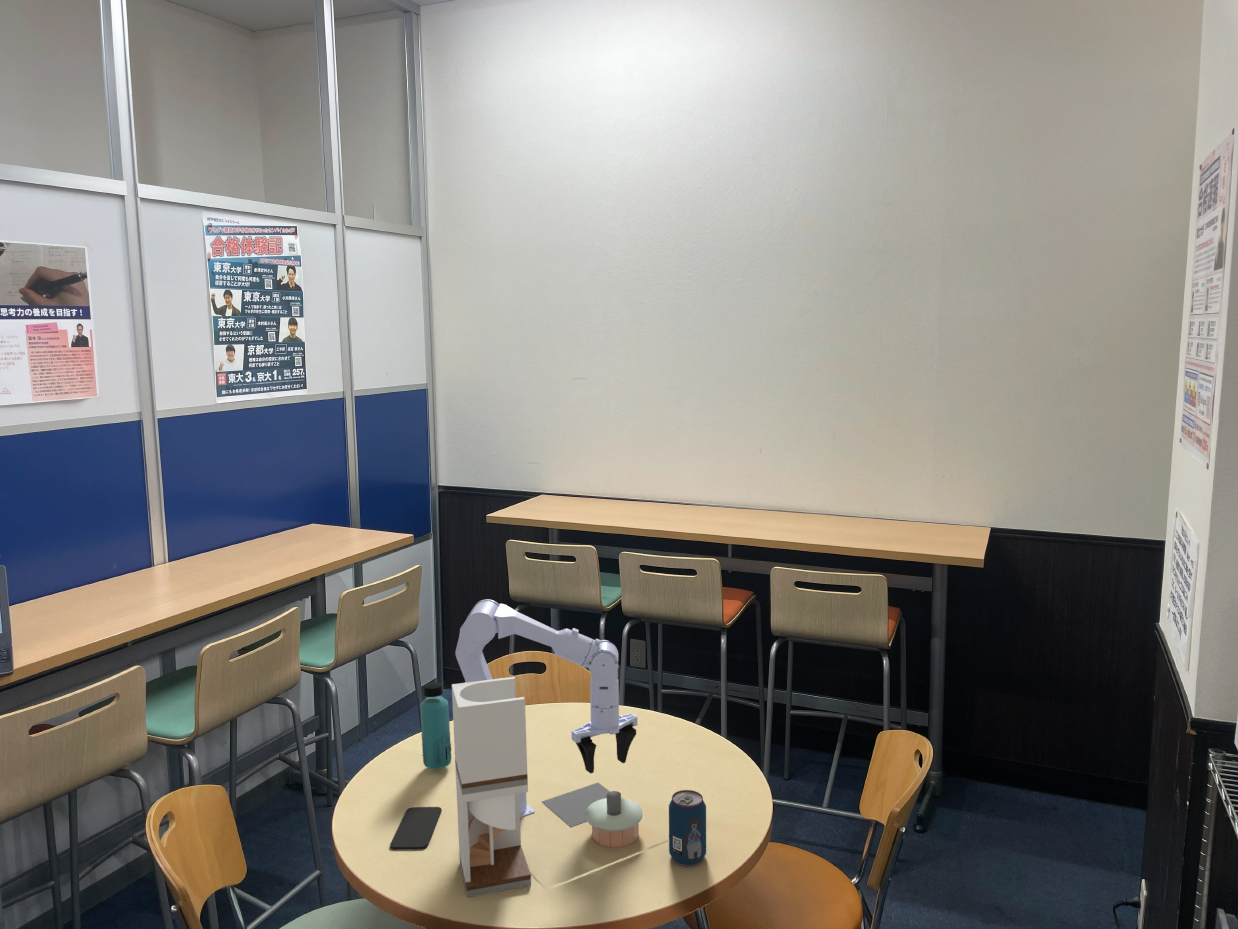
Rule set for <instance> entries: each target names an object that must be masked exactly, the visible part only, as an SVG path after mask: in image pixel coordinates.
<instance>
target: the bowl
mask: <svg viewBox="0 0 1238 929" xmlns="http://www.w3.org/2000/svg"><path fill="white" fill-rule="evenodd" d="M639 824H640V822H639V823H638V824H637V825H636V826H634V827H632V828H630V829H626V830H622V831H605V830H600V829H597V828H595V827H593V826H592V825H591V834H592V835H591V836H592V839H593V840H594V841H595V842H596V843H597V844H598V845H601V846H605V847H608V848H621V847H626V846H628V845H631V844H632V843H633V844H634V842H635V841H636V840H637V839H638V837H639V836H640V833H639V831H640V830H639V828H640V827H639Z"/></svg>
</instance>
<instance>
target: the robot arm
mask: <svg viewBox="0 0 1238 929" xmlns="http://www.w3.org/2000/svg"><path fill="white" fill-rule="evenodd" d="M579 631H580V630H579V629H577V628H575V627H573V628H572V629H569V628H563V629H561V630H558V629H557V630H556V629H555V628H552V627H550V626H548V625H546V624H544V623H542V622H540V621H537V620H536V619H533V618H531V617H529V616H527V615H525V614H523V613H521V612H518V611H517V610H515V609H514V608H512V607H510V606H508V605H507V604H504V603H498V601H495V600H493V599H486V598H485V599H482V600H479V601H478V602H477V603H475V605H474V606H473V608H472V609H471V611H470V612H469V614H468V615H467V617H466V620H465V621H464V623H463V624H462V625H461V627H460V628H459V636H458V641H457V643H456V644H457V645H456V648H455V652H454V653H455V657H456V660H457V663H458V666H459V668H460V670H461V673H462V676H463V678H464V681H465V683H467V682H475V681H483V680H492V679H493V677H492V674H491V671H490V669H489V666H488V664H487V661H486V659H485V656H484V652H483V650H484V648H485V646H486V645H487V644H489V642H490V641H492V640H493V639H494V637H495V636H496V634H497V636H498V637H497V638H498V639H499V640H500V639H503V638H506V637H509V636H512V635H517V636H521V637H523V638H526V639H528V640H531V641H534V642H537V643H540V644H542V645H545V646H547V647H550V648H552V650H553V653H554V655H555V656H557V657H559V658H561V659H564V660H565V661H566V660H567V661H569V662H571V663H573V664H576V665H578V666H580V667H583V668H586V669H587V668H588V671H589V672H590V678H591V679H590V681H589V688H590V689H589V691H590V692H589V695H590V720H589V721H588V722H587V723H585V724H584V725H582V726H580V727H577V728H575V729H571V740H572V741H573V743H574V742H575V744H576V746H577V748H578V750H579V752H580V755H581V758H582V761H583V763H584V769H585V771H586V772H587V773H589V774H594V772H595V753H596V748H597V744H595V742H593V739H592V738H593V737H596V736H600V735H607V734H609V735H614V736H615V740H616V742H615V743H616V759H617V761H619V762H620V763H622V764H626V762H627V757H628V753H629V750H630V747H631V744H632V743H633V740H634V739H635V737H636V736H637V729H636V728H634V727H637V726H638V725H639V724H638V716H637V715H636V714H634V713H628V714H621V715H620V703H619V702H620V699H619V698H620V696H619V694H620V692H619V691H620V690H619V679H618V677H619V671H618V670H619V651H618V649H617V648H618V647H616V645H615V644H614V643H613V642H611V641H610V640H608V639H607V640H606V639H601V640H600V639H598V638H595V639H593V638H591V637H589V636H586V635H584V634H581V633H579ZM527 801H528V800H527V792H525V793H519V802H520V819H522V818H523V817H526V816H529V815H533V814H534V813H535V812H536V811H535V809H534V808H532V806H531V805H529V804H528V803H527Z"/></svg>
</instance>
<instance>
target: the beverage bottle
mask: <svg viewBox="0 0 1238 929" xmlns="http://www.w3.org/2000/svg"><path fill="white" fill-rule="evenodd" d="M423 688H424V689H423V690H424V691H423V696H424V697H425V699H423V701H422V702H421V703H420V705H419V707H420V724H421V749H422V751H421V752H422V753H421V754H422V763H423V765H424V767H426V768H428V769H431V770H439V769H442V768H443V769H444V768H446V767H448V766H449V765H451V763H452V756H453V755H452V741H451V738H452V737H451V731H450V726H451V725H450V716H449V702H448V699H446V698H444V697H443V696H442V695H443V693H444V691H443V690H444V689H443V685H442V683H440V682H436V681H435V682H433V681H432V682H429V683H426V684H425V685H424V687H423Z"/></svg>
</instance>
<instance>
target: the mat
mask: <svg viewBox="0 0 1238 929" xmlns="http://www.w3.org/2000/svg"><path fill="white" fill-rule="evenodd" d="M610 791H611V790H609V789H607V788H606V787H605V786H603V785H602V784H601V783H599V782H596V783H592V784H589V785H586V786H584V787H580V788H577V789H575V790H572V791H569V792H566V793H563V794H560V795H557V796H554V797H551V798H549V799H548V798H547V799H545V800H543V801H541V803H542V804H543V805H544V806H545V807H547V809H548V810H550V811H551V812H552V813H554V814H555V815H556V816H557V817H558V818H559V819H560V820H561V821H562V822H564V823H565V824H566V825H567V826H568V827H569V828H574V827H576V826H579V825H581V824H584V823H586V822H587V823H588V821H587V819H586V810H587V808H588V807H589V806H590V805H591V804H592V803H594V802H596V801H598V800H601V799H605V798H607V793H608V792H610Z"/></svg>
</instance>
